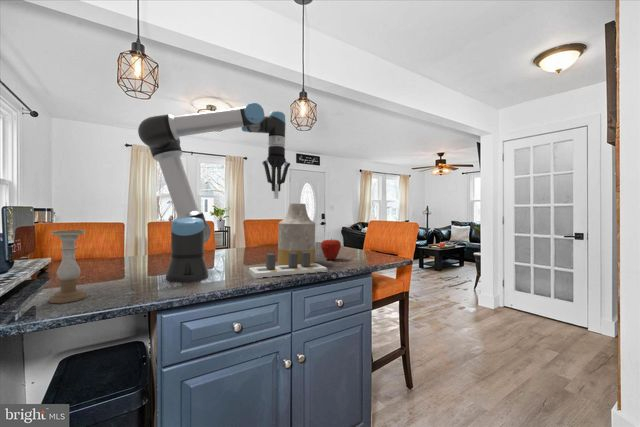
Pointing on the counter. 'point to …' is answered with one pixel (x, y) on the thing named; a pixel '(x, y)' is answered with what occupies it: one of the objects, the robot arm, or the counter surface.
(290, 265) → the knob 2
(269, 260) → the block
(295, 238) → the vase
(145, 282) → the counter surface
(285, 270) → the switch board
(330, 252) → the apple
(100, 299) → the counter surface
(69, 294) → the candle holder
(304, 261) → the knob
